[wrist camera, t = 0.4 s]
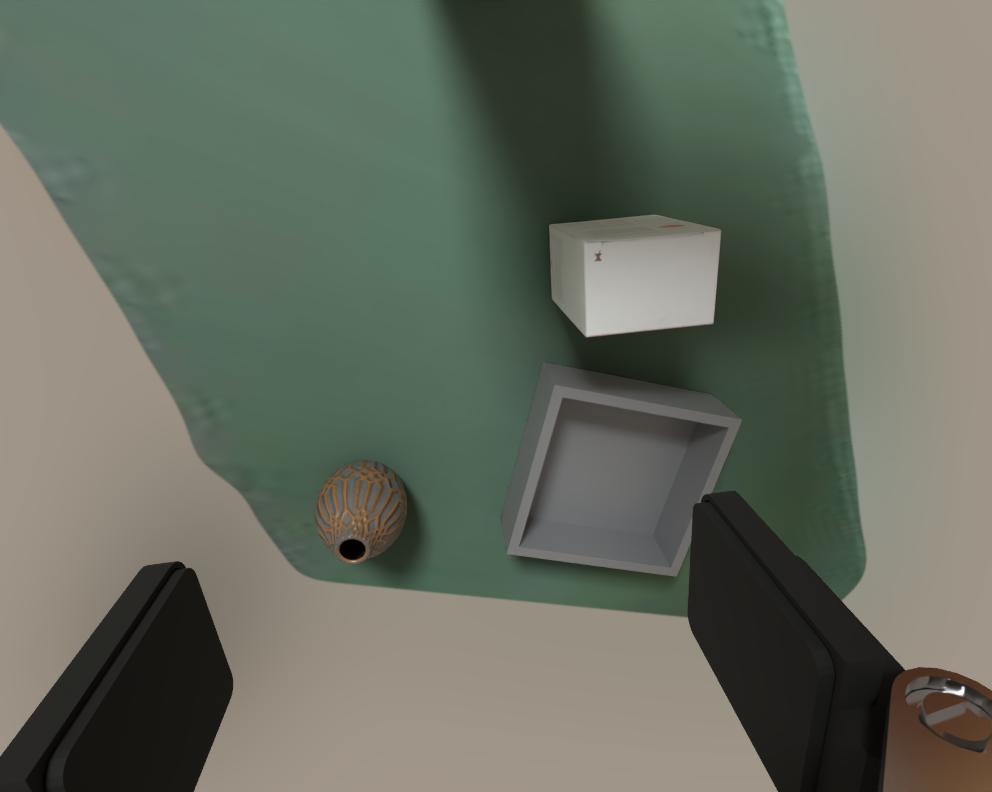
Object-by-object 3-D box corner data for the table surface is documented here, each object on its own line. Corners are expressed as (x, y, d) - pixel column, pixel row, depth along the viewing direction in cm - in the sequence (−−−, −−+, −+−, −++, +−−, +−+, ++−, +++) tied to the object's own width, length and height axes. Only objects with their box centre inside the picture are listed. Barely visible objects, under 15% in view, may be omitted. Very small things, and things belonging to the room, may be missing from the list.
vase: (426, 483, 48) (423, 549, 40) (370, 533, 49) (356, 606, 41) (365, 431, 46) (348, 489, 37) (307, 485, 47) (279, 552, 39)
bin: (543, 361, 45) (554, 384, 40) (713, 394, 47) (742, 419, 42) (500, 517, 50) (506, 554, 45) (655, 539, 52) (676, 576, 47)
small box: (550, 299, 43) (581, 340, 33) (547, 222, 41) (580, 241, 31) (654, 290, 43) (716, 327, 34) (657, 212, 41) (724, 228, 31)
